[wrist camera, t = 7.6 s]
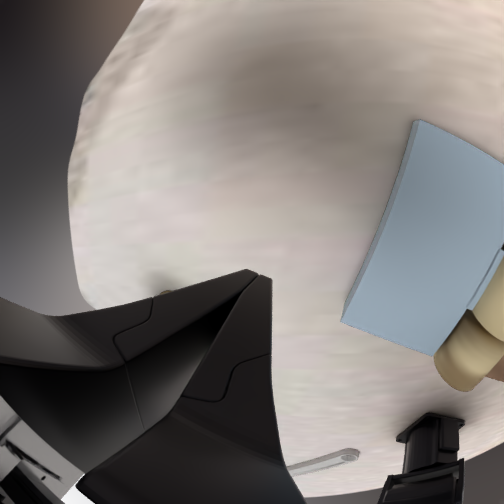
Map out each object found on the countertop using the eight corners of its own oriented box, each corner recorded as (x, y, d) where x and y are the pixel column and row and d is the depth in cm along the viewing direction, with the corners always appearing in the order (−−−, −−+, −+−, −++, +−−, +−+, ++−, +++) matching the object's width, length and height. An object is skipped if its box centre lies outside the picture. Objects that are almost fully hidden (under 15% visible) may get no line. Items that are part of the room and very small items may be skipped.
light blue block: (472, 352, 17) (481, 392, 13) (344, 302, 21) (335, 343, 17) (553, 207, 10) (586, 229, 6) (413, 121, 14) (428, 116, 10)
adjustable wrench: (351, 443, 28) (349, 453, 27) (378, 457, 28) (376, 467, 27) (249, 466, 42) (246, 473, 40) (274, 479, 42) (271, 485, 40)
